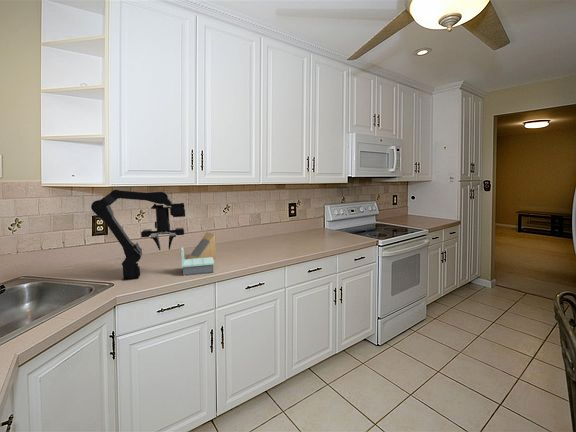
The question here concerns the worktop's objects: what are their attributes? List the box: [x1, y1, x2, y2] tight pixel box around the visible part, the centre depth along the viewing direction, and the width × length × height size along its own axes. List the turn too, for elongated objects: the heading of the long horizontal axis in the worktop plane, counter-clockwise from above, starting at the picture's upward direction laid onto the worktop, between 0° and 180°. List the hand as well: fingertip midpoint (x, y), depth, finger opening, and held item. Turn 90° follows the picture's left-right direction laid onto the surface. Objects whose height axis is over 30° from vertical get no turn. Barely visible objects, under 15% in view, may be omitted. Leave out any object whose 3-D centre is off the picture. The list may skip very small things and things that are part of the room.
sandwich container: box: [186, 231, 217, 261], centre depth 165 cm, size 9×15×15 cm, turn 138°
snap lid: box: [180, 246, 215, 268], centre depth 146 cm, size 15×11×8 cm
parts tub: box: [182, 265, 214, 276], centre depth 147 cm, size 14×10×4 cm
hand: (164, 249), depth 141 cm, fingers open, 4 cm apart
